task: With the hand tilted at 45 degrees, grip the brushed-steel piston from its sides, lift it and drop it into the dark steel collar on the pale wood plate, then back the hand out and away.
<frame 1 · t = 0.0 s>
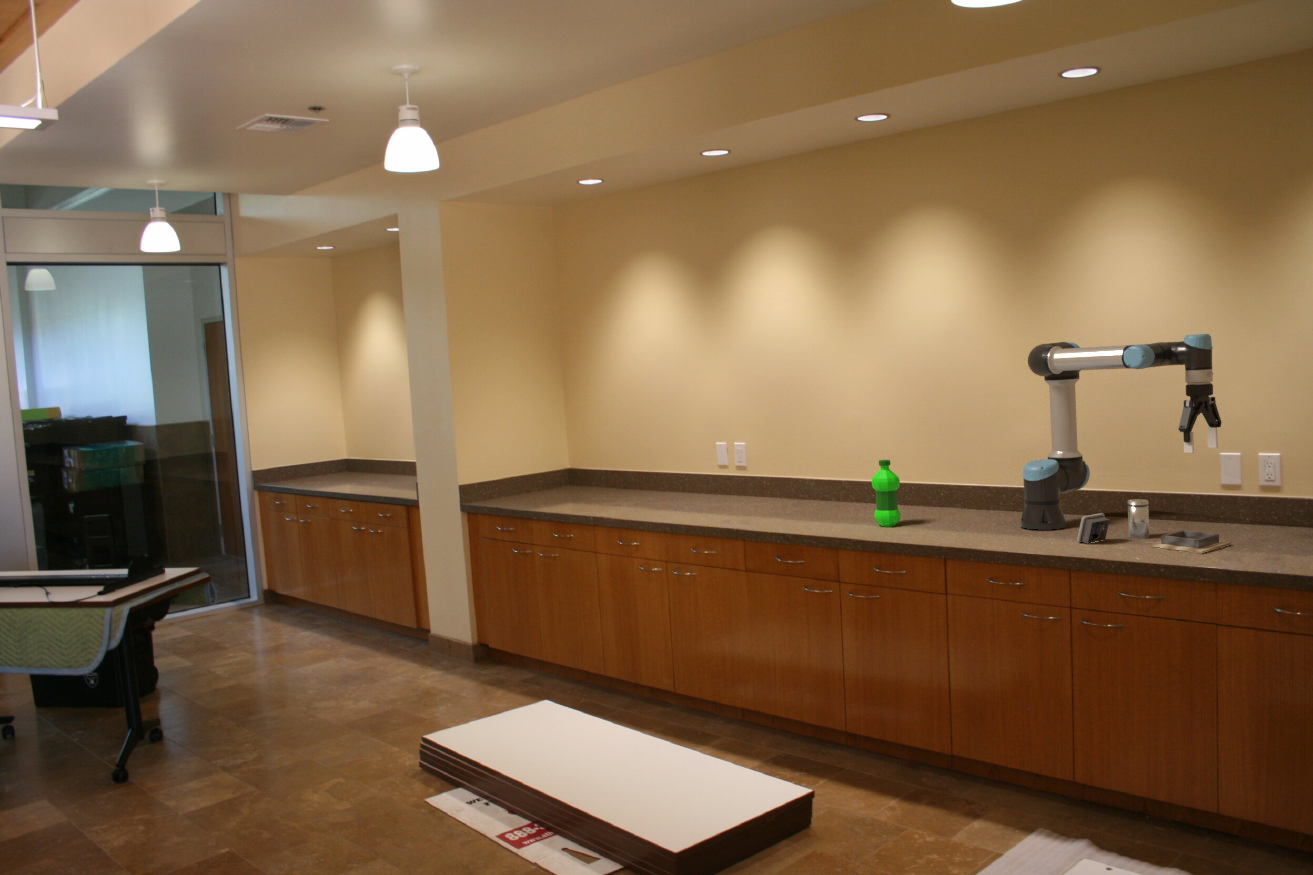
hand: (1200, 450, 303), 28 cm above the counter, tool pointing down, fingers open, 13 cm apart
electrical switch: (1094, 542, 310), on the counter
collar plate: (1190, 546, 294), on the counter
plastic bottle: (888, 526, 364), on the counter
steel piston: (1139, 536, 313), on the counter
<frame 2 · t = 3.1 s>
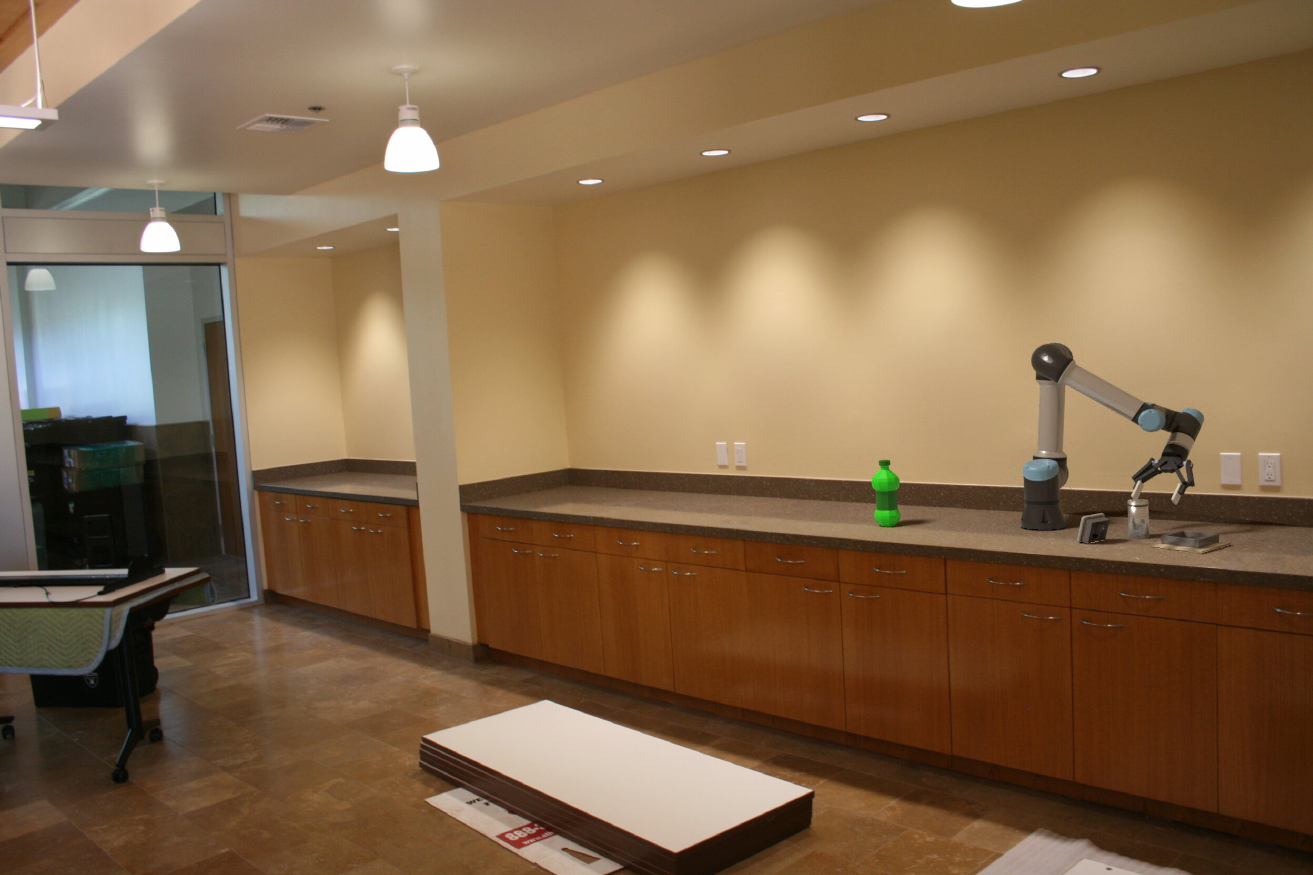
hand: (1153, 500, 314), 11 cm above the counter, tool tilted 45°, fingers open, 13 cm apart
nothing on the counter moved.
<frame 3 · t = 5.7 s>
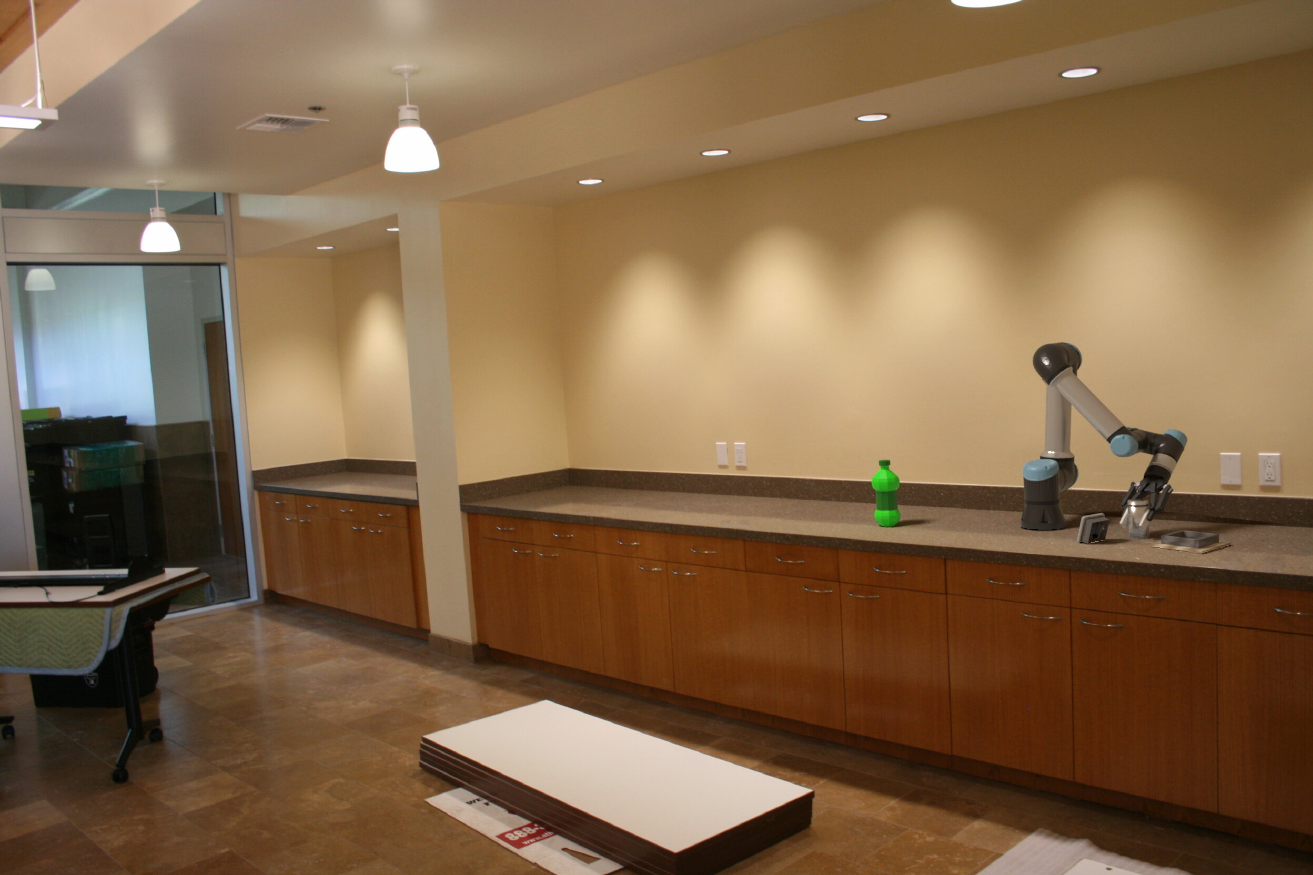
hand: (1132, 526, 310), 4 cm above the counter, tool tilted 45°, fingers closed on steel piston, 6 cm apart
steel piston: (1139, 536, 313), on the counter, touching gripper
everything else where it was.
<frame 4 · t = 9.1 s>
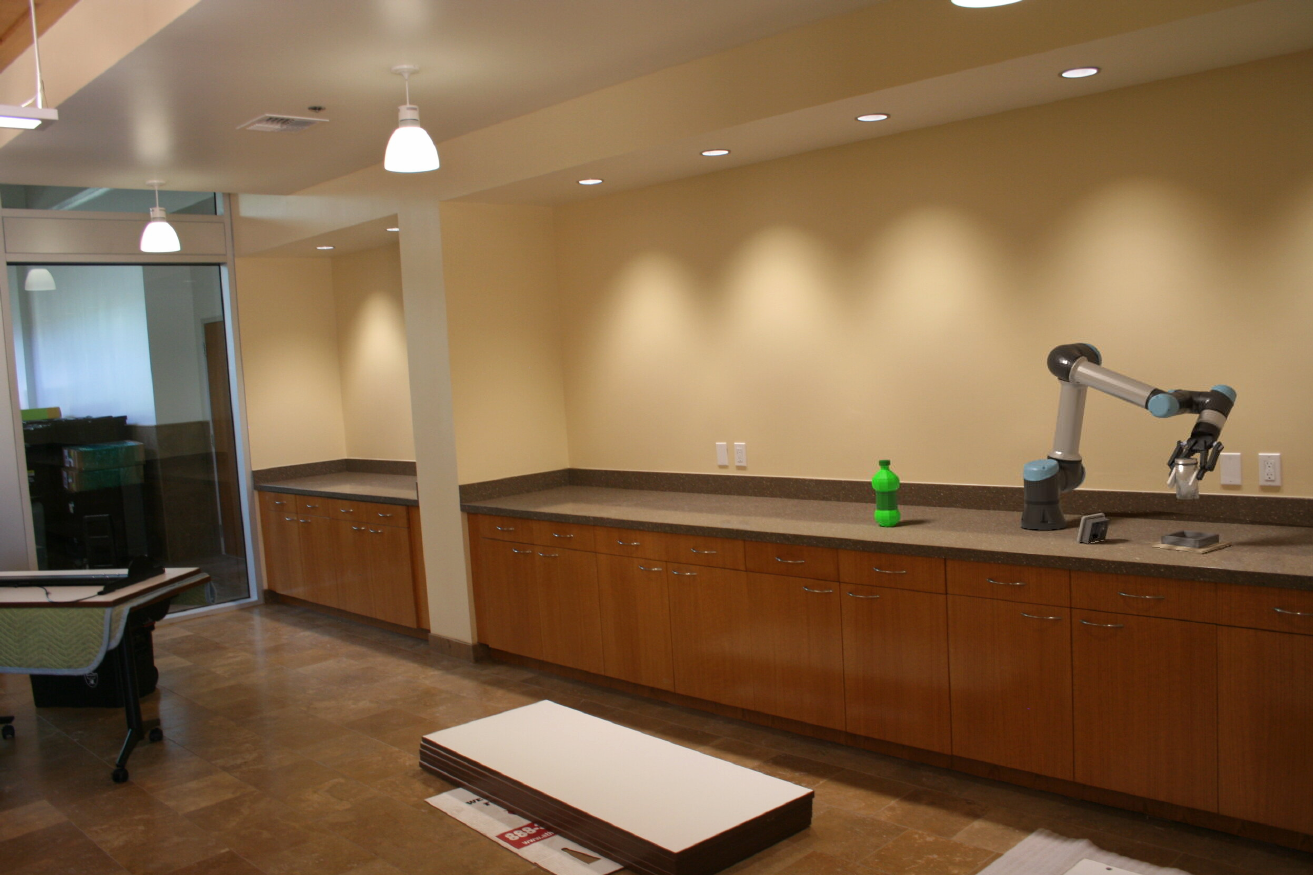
hand: (1180, 486, 292), 19 cm above the counter, tool tilted 45°, fingers closed on steel piston, 6 cm apart
steel piston: (1187, 497, 294), point 15 cm above the counter, touching gripper
everything else where it was.
when the fingers open (6 cm above the counter, at t = 12.4 s): steel piston drops 1 cm, resting on collar plate.
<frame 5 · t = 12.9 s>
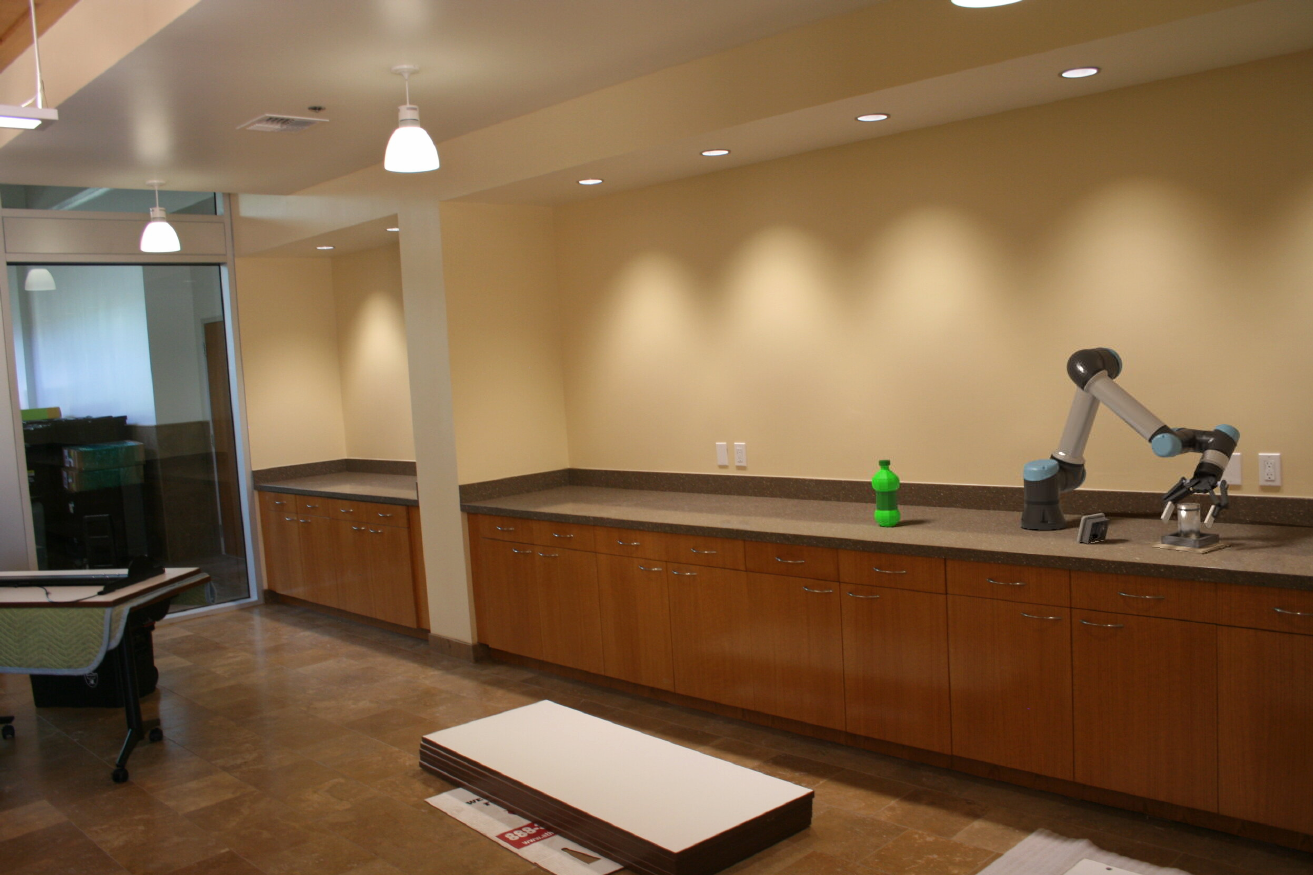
hand: (1184, 523, 292), 8 cm above the counter, tool tilted 45°, fingers open, 13 cm apart
steel piston: (1189, 542, 294), point 1 cm above the counter, touching collar plate
everything else where it was.
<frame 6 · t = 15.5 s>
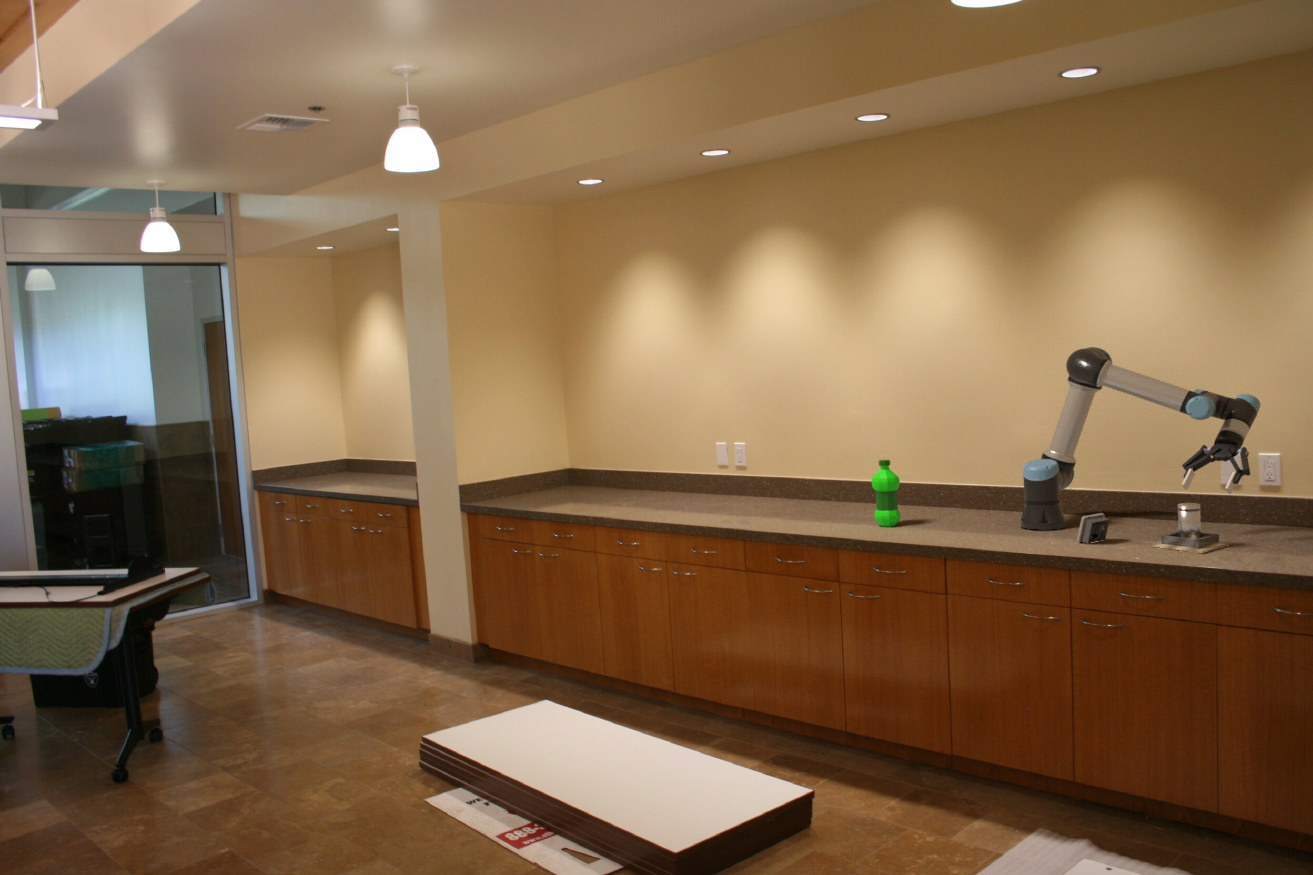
hand: (1205, 489, 300), 16 cm above the counter, tool tilted 45°, fingers open, 13 cm apart
nothing on the counter moved.
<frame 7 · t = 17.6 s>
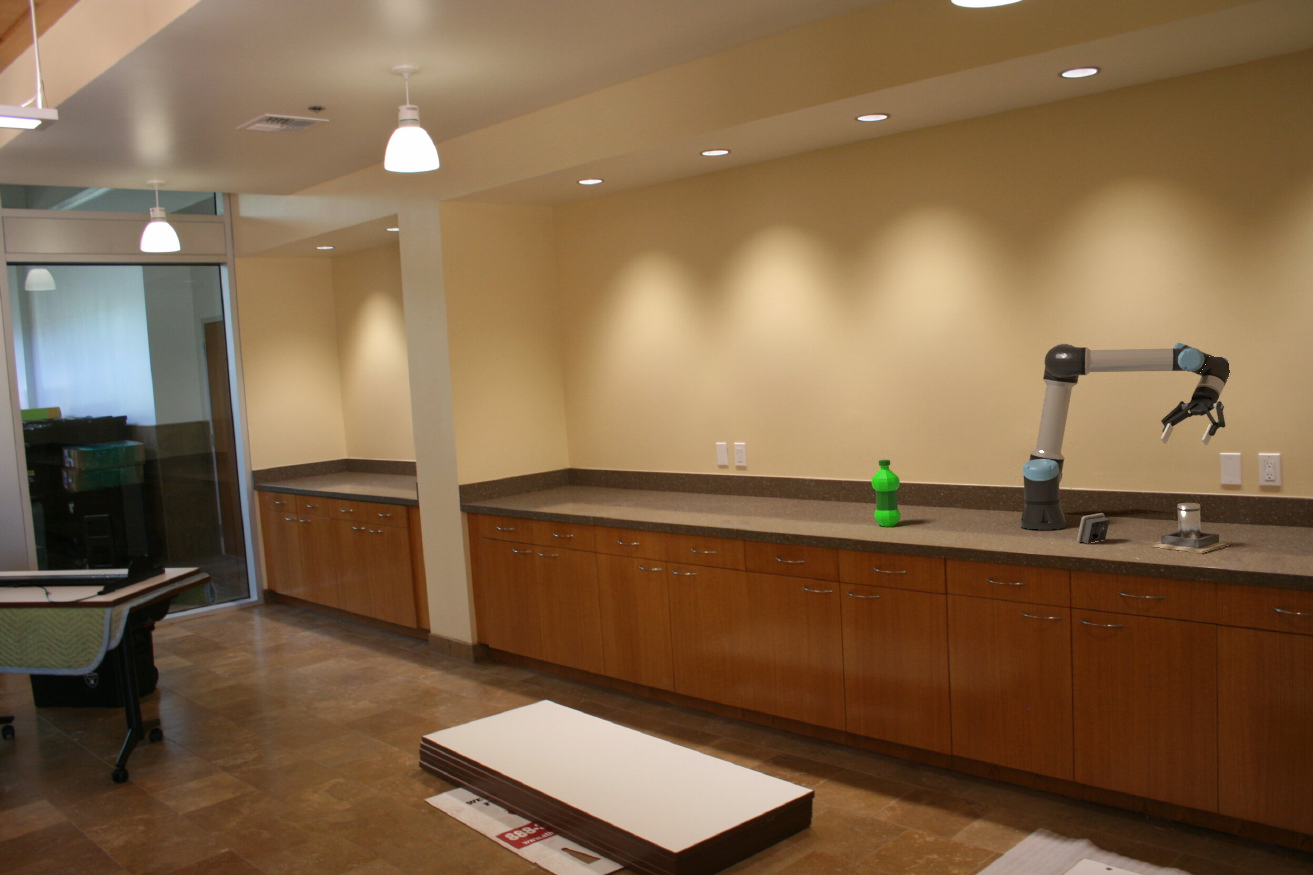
hand: (1183, 441, 314), 30 cm above the counter, tool tilted 45°, fingers open, 13 cm apart
nothing on the counter moved.
at the end: steel piston 0.1 cm off-centre on the collar plate, point 1.0 cm above the collar plate's base; steel piston tilted 0°; the gripper is holding nothing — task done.
